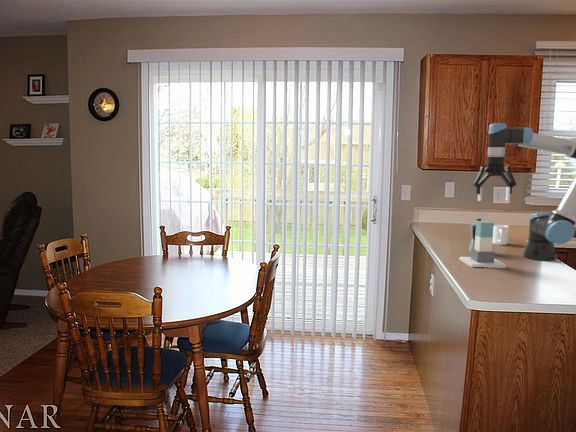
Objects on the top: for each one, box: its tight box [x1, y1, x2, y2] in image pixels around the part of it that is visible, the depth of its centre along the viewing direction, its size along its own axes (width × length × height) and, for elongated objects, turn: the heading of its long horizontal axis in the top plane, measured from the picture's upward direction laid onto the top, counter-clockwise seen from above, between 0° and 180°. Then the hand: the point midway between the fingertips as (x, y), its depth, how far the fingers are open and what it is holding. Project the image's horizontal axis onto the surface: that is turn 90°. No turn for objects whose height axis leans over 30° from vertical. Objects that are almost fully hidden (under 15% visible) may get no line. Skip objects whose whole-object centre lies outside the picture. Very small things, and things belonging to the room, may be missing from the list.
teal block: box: [475, 220, 495, 237], centre depth 234 cm, size 6×6×7 cm
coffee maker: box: [468, 218, 482, 253], centre depth 262 cm, size 15×9×18 cm, turn 144°
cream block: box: [474, 235, 493, 252], centre depth 235 cm, size 6×6×7 cm
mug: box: [492, 224, 510, 246], centre depth 286 cm, size 9×12×11 cm
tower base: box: [459, 249, 507, 269], centre depth 236 cm, size 16×16×6 cm
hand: (493, 200), depth 236 cm, fingers open, 13 cm apart
